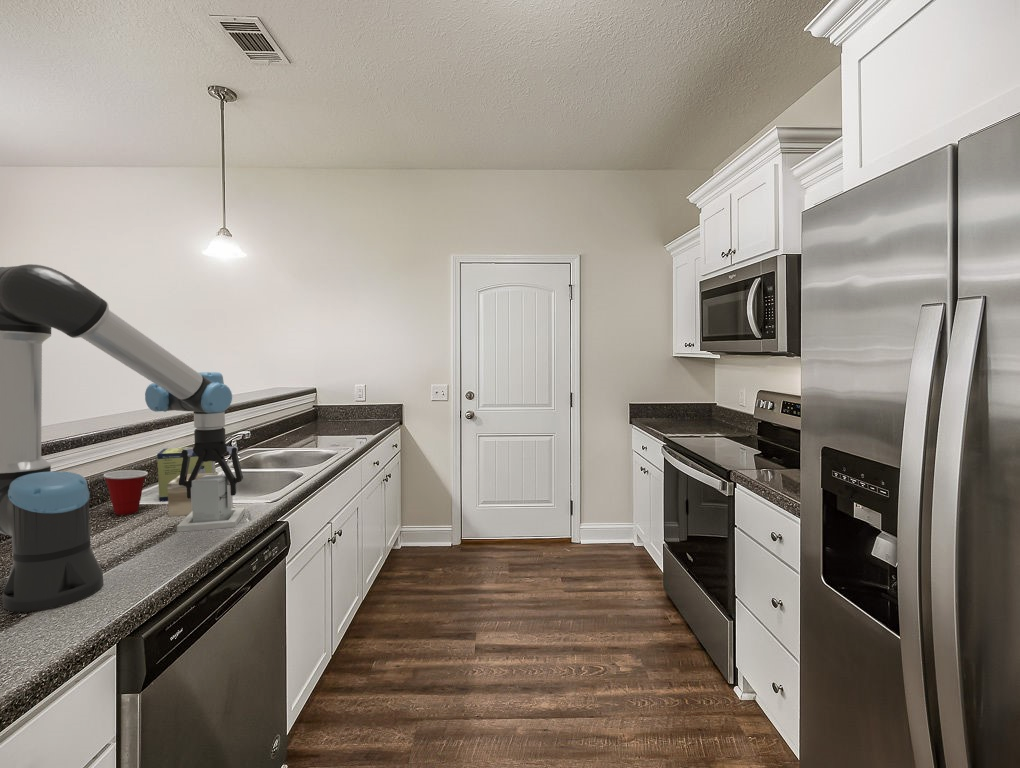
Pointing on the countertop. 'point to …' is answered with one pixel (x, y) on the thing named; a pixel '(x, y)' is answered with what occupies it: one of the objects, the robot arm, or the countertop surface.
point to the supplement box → (210, 499)
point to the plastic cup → (125, 490)
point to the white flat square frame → (232, 522)
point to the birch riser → (181, 496)
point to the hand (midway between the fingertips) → (212, 508)
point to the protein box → (176, 468)
